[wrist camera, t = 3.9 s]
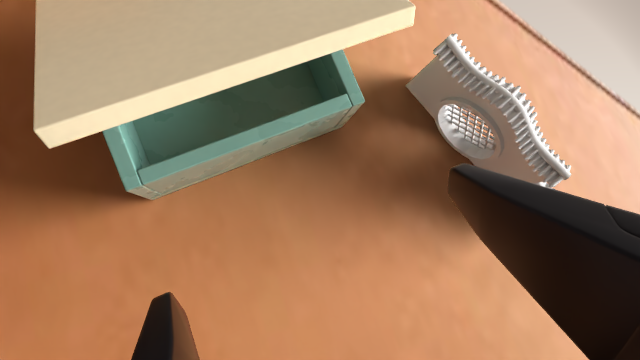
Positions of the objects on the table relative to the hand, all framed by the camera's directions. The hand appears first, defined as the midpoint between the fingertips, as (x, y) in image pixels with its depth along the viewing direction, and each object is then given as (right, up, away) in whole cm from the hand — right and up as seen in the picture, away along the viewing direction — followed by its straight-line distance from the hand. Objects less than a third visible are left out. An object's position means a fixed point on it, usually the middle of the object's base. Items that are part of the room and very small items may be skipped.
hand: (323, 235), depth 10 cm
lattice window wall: (+9, +3, +15) cm, 18 cm away
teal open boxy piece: (-6, +7, +13) cm, 15 cm away
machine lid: (-4, +8, +5) cm, 10 cm away
